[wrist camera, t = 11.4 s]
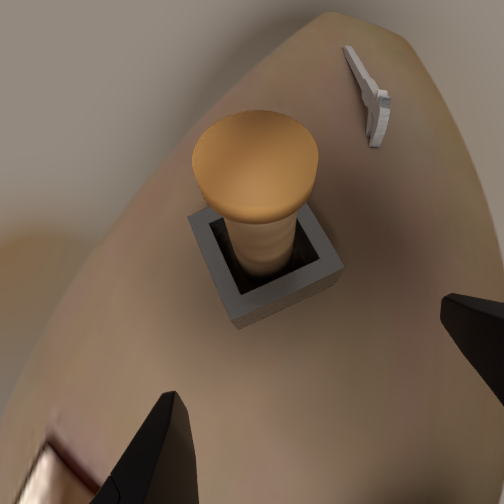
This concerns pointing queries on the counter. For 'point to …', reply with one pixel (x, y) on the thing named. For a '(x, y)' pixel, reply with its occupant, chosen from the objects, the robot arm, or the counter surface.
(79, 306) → the counter surface
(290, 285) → the socket block
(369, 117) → the caliper
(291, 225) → the pin
